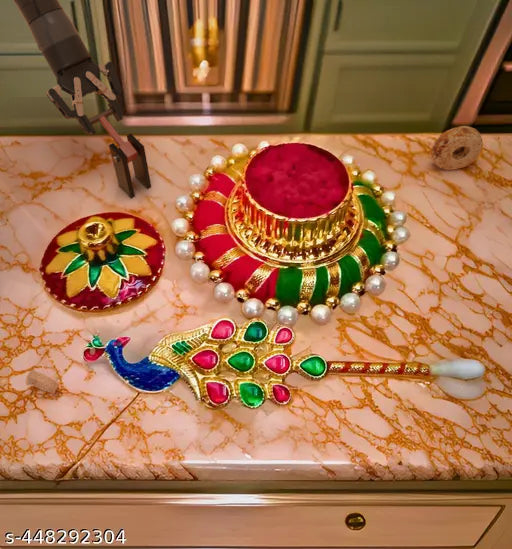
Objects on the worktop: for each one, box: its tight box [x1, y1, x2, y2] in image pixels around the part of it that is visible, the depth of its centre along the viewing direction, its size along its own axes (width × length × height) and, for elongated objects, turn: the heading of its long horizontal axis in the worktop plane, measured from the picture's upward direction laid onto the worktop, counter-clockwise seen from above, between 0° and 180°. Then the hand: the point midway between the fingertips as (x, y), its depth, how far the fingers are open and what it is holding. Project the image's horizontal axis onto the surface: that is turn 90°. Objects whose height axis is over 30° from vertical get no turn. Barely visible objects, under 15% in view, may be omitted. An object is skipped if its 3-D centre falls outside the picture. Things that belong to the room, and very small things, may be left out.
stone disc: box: [430, 125, 484, 171], centre depth 122 cm, size 10×4×10 cm, turn 98°
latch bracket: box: [108, 133, 152, 200], centre depth 114 cm, size 11×8×13 cm
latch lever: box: [88, 108, 137, 164], centre depth 110 cm, size 11×6×2 cm, turn 41°
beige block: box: [25, 369, 59, 394], centre depth 93 cm, size 3×5×5 cm, turn 70°
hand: (106, 126), depth 111 cm, fingers closed on latch lever, 5 cm apart
